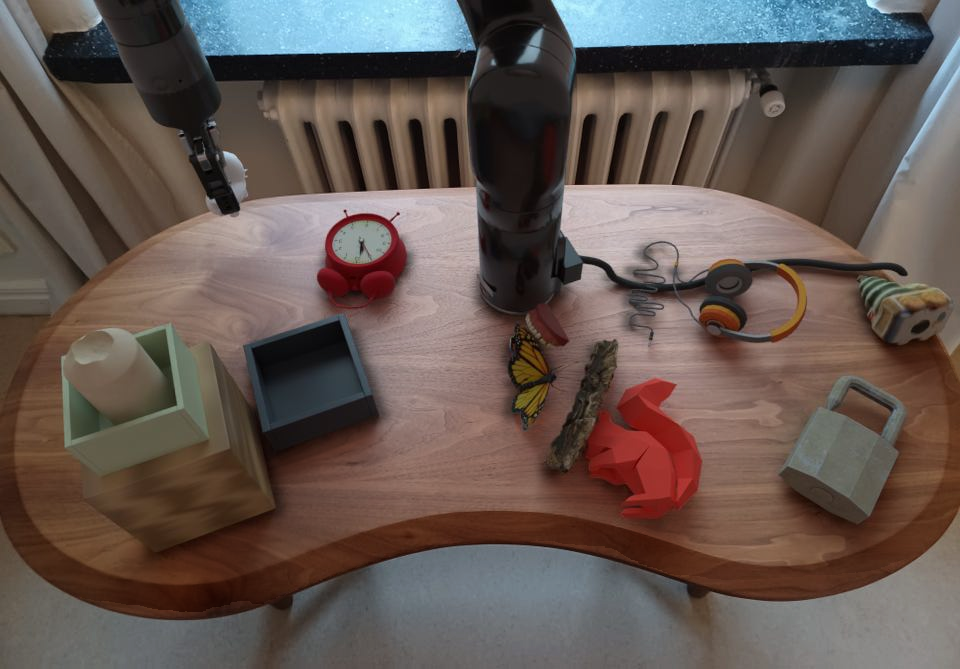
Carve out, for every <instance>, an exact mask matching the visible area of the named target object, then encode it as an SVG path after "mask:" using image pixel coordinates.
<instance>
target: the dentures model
mask: <svg viewBox="0 0 960 669" xmlns="http://www.w3.org/2000/svg"><path fill="white" fill-rule="evenodd" d="M524 320H525V321H526V322H525V323H526V325H527V327H528V329H529V330H528V329H527V328H526V327H524V328H525V329H527V331H528V332H529V333H530V334H531V335H532V337H533V338H534V339H537V340H538V342H539V343H540V344H542V345H543V346H544V347H546V348H548V349H550V350H552V349H554V348H561V347H564V346H566V345H567V344H568V343H569V342H570V339H569V337H568V335H567V333H566V332H565V330H564V329H563V326H562V325H561V323H560V322H559V320H558V318H557V316H556V315H555V313H554V311H553V310H552V308H551V306H550V305H549V304H548V305H547V304H544V303H540V304H538V305H537V306H536V307H535V309H534V310H532V311H530V312H529V314H527V315H525V319H524ZM508 344H509V345H508V347H509V348H508V349H509V350H508V359H509V358H511V357H512V356H514V355H516V353H515V344H516V335H515V334H514V335H513V336H511V337H510V338H509V343H508ZM544 358H545V360H546V363H547V366H548V369H549V370H550V365H549V362H548V360H547V358H546V357H544Z"/></svg>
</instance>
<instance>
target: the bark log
mask: <svg viewBox="0 0 960 669" xmlns="http://www.w3.org/2000/svg"><path fill="white" fill-rule="evenodd" d="M619 346H620V345H619V341H618V340H617V339H616V338H613V339H612V340H607V339H603V340H600V341H597V342H596V343H595V345H594V350H593V352H592V353H591V354H590V356H589V357H590V358H589V361H588V363H587V362H586V363H585V364H584V365H585V366H584V377H583V378H582V379H580V387H579V390H578V391H577V392H576V394H575V396H574V402H573V405H572V406H571V411H569V412H568V413H566V416H565V422H564V423H563V424H562V426H561V427H562V428H561V431H560V433H559V434H558V435H557V436H556V437H555V438H554V439H553V440H552V442H551V443H550V444H549V448H548V450H547V452H546V453H547V454H546V459H545V460H544V461H543V462H542V465H544V466H546V467H547V468H548V469H549V470H551V471H557V472H559V473H562V474H568V472H569V471H572V468H573V466H574V465H575V464H576V463H577V461H578V460H579V459H581V458H582V453H585V448H586V444H587V441H588V437H589V435H590V434H591V432H592V430H593V428H594V425H595V424H596V420H597V418H598V412H599V410H600V408H601V407H602V404H603V402H605V396H606V394H607V393H608V391H609V389H610V387H611V386H610V384H611V382H612V381H613V379H614V378H615V374H614V373H615V371H616V369H617V368H618V362H617V360H618V358H617V354H618V351H619V348H620V347H619Z"/></svg>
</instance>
